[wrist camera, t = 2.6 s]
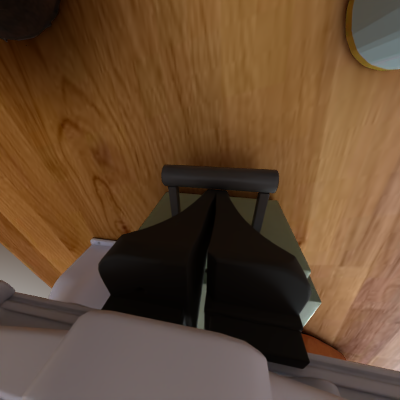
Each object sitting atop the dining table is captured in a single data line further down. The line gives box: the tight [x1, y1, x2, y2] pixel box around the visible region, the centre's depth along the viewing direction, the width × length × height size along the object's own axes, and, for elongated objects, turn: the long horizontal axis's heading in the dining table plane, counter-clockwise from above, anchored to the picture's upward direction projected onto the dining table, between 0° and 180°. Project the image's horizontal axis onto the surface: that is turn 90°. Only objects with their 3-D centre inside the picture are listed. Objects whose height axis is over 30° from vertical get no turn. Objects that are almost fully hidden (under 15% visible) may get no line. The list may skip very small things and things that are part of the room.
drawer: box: [139, 165, 311, 278], centre depth 15 cm, size 18×11×8 cm, turn 0°
